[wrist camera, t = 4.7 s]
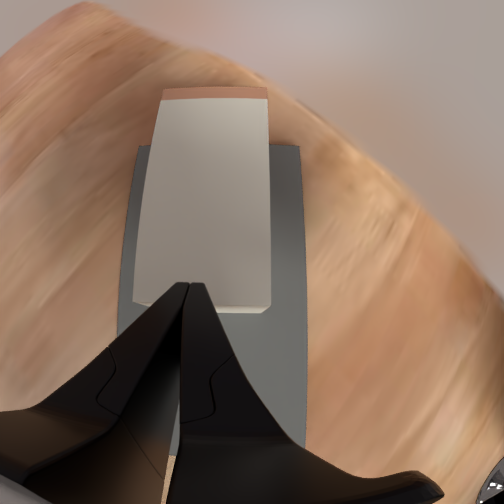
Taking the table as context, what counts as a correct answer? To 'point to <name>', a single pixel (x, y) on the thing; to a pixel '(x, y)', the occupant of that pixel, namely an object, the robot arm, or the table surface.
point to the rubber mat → (253, 324)
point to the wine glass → (492, 483)
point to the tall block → (208, 199)
